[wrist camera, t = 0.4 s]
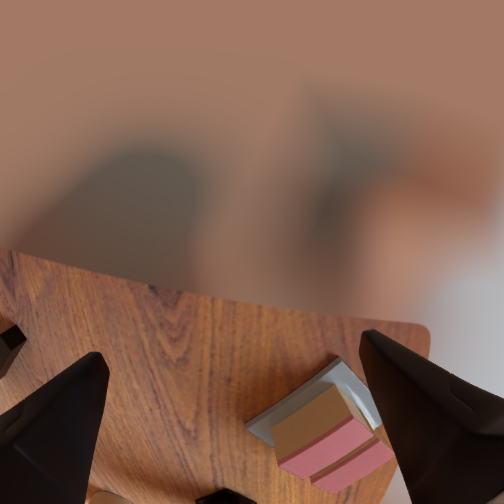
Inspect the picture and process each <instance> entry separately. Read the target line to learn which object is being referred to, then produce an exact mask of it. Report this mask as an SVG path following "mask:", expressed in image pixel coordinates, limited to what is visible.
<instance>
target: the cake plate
mask: <svg viewBox="0 0 504 504" xmlns="http://www.w3.org/2000/svg"><path fill="white" fill-rule="evenodd" d="M333 384H336V385H337V386H338V387H339V388H340V389H341V390H342V391H343V392H344V393H345V394H346V395H347V396H348V397H349V398H350V399H351V400H352V401H353V402H354V403H355V405H356V407H357V408H358V410H359V412H360V413H361V415H362V417H363V418H364V420H365V422H366V423H367V425H368V427H369V428H370V430H371V432H372V433H373V435H374V436H373V437H371V438H370V439H368V440H367V441H366V442H364V443H363V444H361V445H360V446H358V447H357V448H355V449H354V450H352V451H351V452H349V453H348V454H346V455H345V456H343V457H342V458H340V459H339V460H337V461H335V462H334V463H332V464H330V465H329V466H327V467H325V468H324V469H322V470H320V471H318V472H317V473H315V474H313V475H311V476H309V477H310V481H311V484H313V485H315V486H317V487H319V488H321V489H323V490H325V491H327V492H330V493H332V494H335V493H337V492H338V491H340V490H342V489H344V488H346V487H347V486H349V485H351V484H353V483H354V482H356V481H358V480H359V479H361V478H362V477H364V476H366V475H367V474H369V473H370V472H372V471H373V470H375V469H376V468H378V467H379V466H381V465H382V464H384V463H385V462H387V461H388V460H390V459H391V458H392V457H394V456H395V454H394V451H393V449H392V448H391V446H390V444H389V443H388V441H387V440H386V438H385V436H384V435H383V433H382V432H381V430H380V429H379V427H378V426H379V425H381V424H382V420H381V418H380V415H379V413H378V411H377V408H376V406H375V403H374V401H373V398H372V396H371V393H370V390H369V389H368V387H367V386H366V385H365V384H364V383H363V382H362V381H361V380H360V379H359V378H358V376H357V375H356V374H355V373H354V372H353V371H352V370H351V369H350V368H349V366H348V365H347V364H346V363H345V362H344V361H343V360H342V359H341V358H340V357H337V358H336V359H335V360H334V361H333V362H331V363H330V364H329V365H328V366H326V367H325V368H324V369H322V370H321V371H320V372H319V373H317V374H316V375H315V376H313V377H312V378H311V379H309V380H308V381H307V382H305V383H304V384H303V385H301V386H300V387H299V388H297V389H296V390H295V391H293V392H292V393H290V394H289V395H288V396H286V397H285V398H283V399H282V400H280V401H279V402H277V403H276V404H275V405H273V406H272V407H270V408H269V409H267V410H266V411H264V412H263V413H261V414H259V415H258V416H256V417H255V418H253V419H252V420H250V421H248V422H247V423H246V430H248V431H249V432H251V433H252V434H253V435H255V436H256V437H258V438H259V439H261V440H262V441H264V442H265V443H267V444H268V445H270V446H271V447H273V448H274V449H275V447H274V441H273V435H272V430H271V427H273V426H274V425H276V424H278V423H279V422H281V421H282V420H284V419H285V418H287V417H288V416H290V415H291V414H293V413H294V412H296V411H297V410H299V409H300V408H302V407H303V406H305V405H306V404H307V403H309V402H310V401H312V400H313V399H314V398H316V397H317V396H319V395H320V394H321V393H323V392H324V391H325V390H327V389H328V388H329V387H331V386H332V385H333Z"/></svg>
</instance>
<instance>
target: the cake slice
mask: <svg viewBox="0 0 504 504" xmlns="http://www.w3.org/2000/svg"><path fill="white" fill-rule="evenodd" d="M271 430H272V435H273V441H274V447H275V452H276V458H277V464H278V466H279V467H281V468H282V469H284V470H286V471H288V472H290V473H291V474H293V475H295V476H297V477H299V478H301V479H303V480H304V479H306V478H307V477H309V476H311V475H313V474H315V473H317V472H318V471H320V470H322V469H324V468H325V467H327V466H329V465H330V464H332V463H334V462H335V461H337V460H339V459H340V458H342V457H343V456H345V455H346V454H348V453H349V452H351V451H352V450H354V449H355V448H357V447H358V446H360V445H361V444H363V443H364V442H366V441H367V440H368V439H370V438H371V437H373V436H374V435H373V433H372V432H371V430H370V428H369V427H368V425H367V423H366V422H365V420H364V418H363V417H362V415H361V413H360V412H359V410H358V408H357V407H356V405H355V403H354V402H353V401H352V400H351V399H350V398H349V397H348V396H347V395H346V394H345V393H344V392H343V391H342V390H341V389H340V388H339V387H338V386H337V385H336V384H333V385H332V386H331V387H329V388H328V389H327V390H325V391H324V392H323V393H321V394H320V395H319V396H317V397H316V398H314V399H313V400H312V401H310V402H309V403H307V404H306V405H305V406H303V407H302V408H300V409H299V410H297V411H296V412H294V413H293V414H291V415H290V416H288V417H287V418H285V419H284V420H282V421H281V422H279V423H278V424H276V425H274V426H273V427H271Z"/></svg>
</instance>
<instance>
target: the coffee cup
mask: <svg viewBox="0 0 504 504" xmlns="http://www.w3.org/2000/svg"><path fill="white" fill-rule="evenodd" d="M89 504H132V503H131V502H129V501H128V500H126V499H124V498H122V497H120V496H118V495H115V494H112V493H109V492H105V491H97V492H96V493H95V494H94V495H93V497H92V499H91V501H90V503H89Z"/></svg>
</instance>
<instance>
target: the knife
mask: <svg viewBox="0 0 504 504" xmlns="http://www.w3.org/2000/svg"><path fill="white" fill-rule="evenodd" d="M26 340H27V338H26V337H25V336H24V334H23V333H22V332H21V331H20V329H19V328H18V326H17V325H14V326H13V327H11V328H10V329H8V330H6V331H5V332H3V333H2V334H0V379H1V378H2V377H4V376H5V375H6V373H7V371H8V369H9V368H10V366H11V364H12V363H13V361H14V359H15V358H16V356H17V354H18V353H19V351H20V350H21V348H22V346H23V345H24V343H25V342H26Z"/></svg>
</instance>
